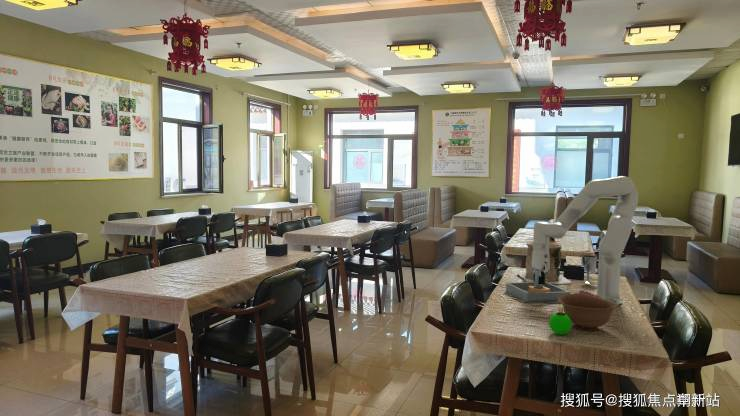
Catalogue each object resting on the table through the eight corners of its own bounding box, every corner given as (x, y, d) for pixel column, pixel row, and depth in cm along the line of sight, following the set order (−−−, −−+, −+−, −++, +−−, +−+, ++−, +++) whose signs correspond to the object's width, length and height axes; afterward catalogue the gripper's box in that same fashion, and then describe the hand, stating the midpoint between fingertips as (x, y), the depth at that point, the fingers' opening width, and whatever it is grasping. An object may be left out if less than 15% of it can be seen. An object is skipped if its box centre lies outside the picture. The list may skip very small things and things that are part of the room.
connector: (544, 289, 248) (545, 270, 247) (536, 290, 247) (538, 270, 246) (540, 288, 252) (541, 268, 251) (532, 288, 251) (533, 268, 250)
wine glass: (580, 283, 276) (582, 256, 275) (579, 280, 284) (580, 254, 283) (596, 284, 274) (597, 257, 273) (594, 281, 282) (595, 255, 280)
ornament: (565, 331, 193) (567, 305, 192) (575, 338, 184) (576, 311, 184) (545, 330, 192) (546, 305, 192) (553, 337, 184) (554, 311, 183)
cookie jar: (527, 284, 273) (529, 226, 271) (515, 274, 298) (517, 221, 295) (572, 285, 272) (575, 227, 270) (557, 275, 297) (559, 222, 295)
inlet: (550, 294, 246) (550, 289, 246) (536, 294, 245) (536, 289, 245) (542, 290, 254) (542, 285, 254) (528, 290, 253) (528, 286, 252)
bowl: (604, 320, 207) (605, 294, 206) (626, 338, 185) (628, 309, 184) (550, 318, 209) (551, 292, 208) (565, 335, 187) (566, 306, 186)
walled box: (569, 301, 237) (570, 291, 237) (527, 302, 233) (527, 293, 233) (545, 290, 259) (545, 281, 259) (505, 291, 255) (506, 282, 255)
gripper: (557, 249, 240) (554, 286, 242) (539, 244, 257) (537, 279, 258) (542, 249, 239) (540, 287, 240) (525, 244, 255) (523, 279, 257)
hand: (538, 282), depth 249 cm, fingers closed on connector, 4 cm apart
